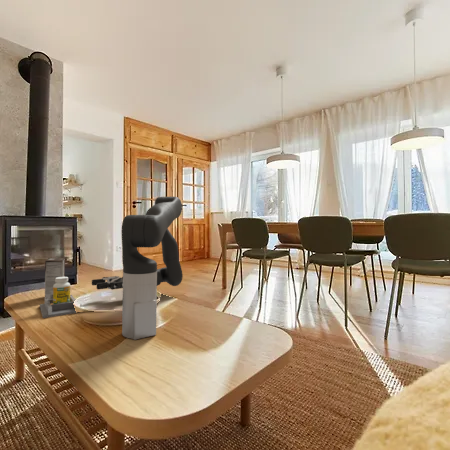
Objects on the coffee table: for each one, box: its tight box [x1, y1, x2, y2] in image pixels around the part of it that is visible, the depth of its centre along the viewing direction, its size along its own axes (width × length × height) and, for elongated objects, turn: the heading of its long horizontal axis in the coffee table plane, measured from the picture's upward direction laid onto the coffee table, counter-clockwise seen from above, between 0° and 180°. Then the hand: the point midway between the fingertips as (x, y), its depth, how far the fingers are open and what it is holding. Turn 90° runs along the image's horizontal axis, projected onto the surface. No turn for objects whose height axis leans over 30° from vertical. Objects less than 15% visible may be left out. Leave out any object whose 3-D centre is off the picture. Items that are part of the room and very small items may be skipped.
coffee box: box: [44, 257, 66, 299], centre depth 117 cm, size 9×6×16 cm
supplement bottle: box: [53, 276, 71, 304], centre depth 101 cm, size 5×5×10 cm
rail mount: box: [39, 294, 77, 319], centre depth 101 cm, size 16×12×3 cm
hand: (94, 284), depth 107 cm, fingers open, 8 cm apart
